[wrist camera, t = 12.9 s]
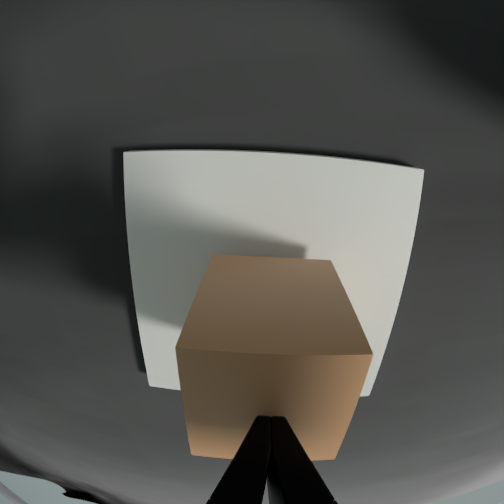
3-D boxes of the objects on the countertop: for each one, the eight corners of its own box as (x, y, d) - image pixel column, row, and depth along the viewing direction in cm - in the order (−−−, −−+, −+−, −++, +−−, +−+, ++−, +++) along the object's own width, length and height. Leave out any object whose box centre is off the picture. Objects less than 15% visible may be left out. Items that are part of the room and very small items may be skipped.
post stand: (415, 167, 14) (521, 205, 7) (365, 385, 19) (395, 484, 12) (131, 150, 15) (26, 175, 7) (153, 375, 20) (115, 473, 12)
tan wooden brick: (330, 259, 14) (373, 353, 8) (315, 353, 16) (334, 459, 10) (211, 254, 14) (175, 347, 8) (213, 349, 16) (191, 454, 10)
